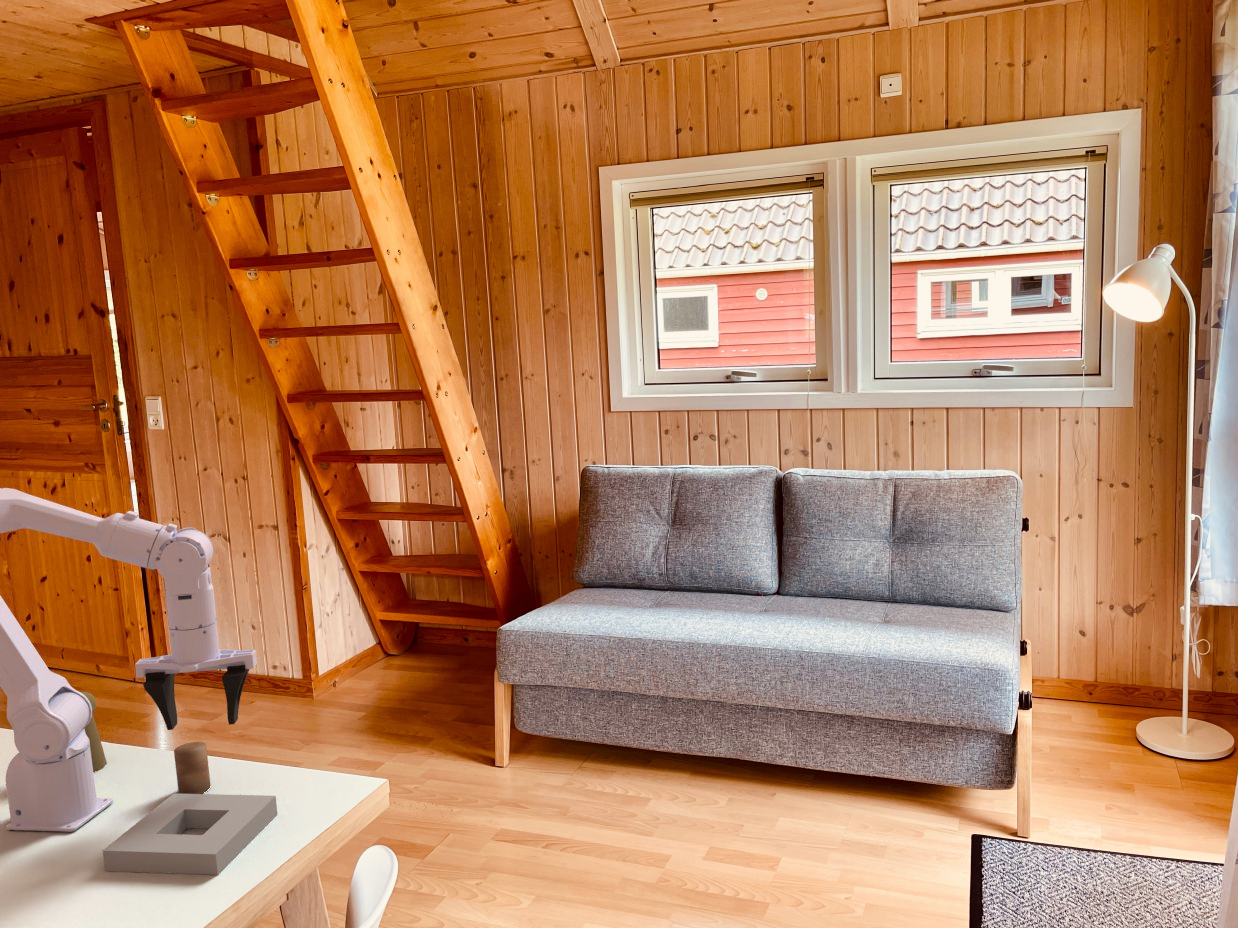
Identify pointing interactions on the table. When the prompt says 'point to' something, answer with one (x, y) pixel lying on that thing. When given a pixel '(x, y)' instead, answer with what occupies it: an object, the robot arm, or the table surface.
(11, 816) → the robot arm
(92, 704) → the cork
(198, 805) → the socket block
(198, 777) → the wooden peg
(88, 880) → the table surface
